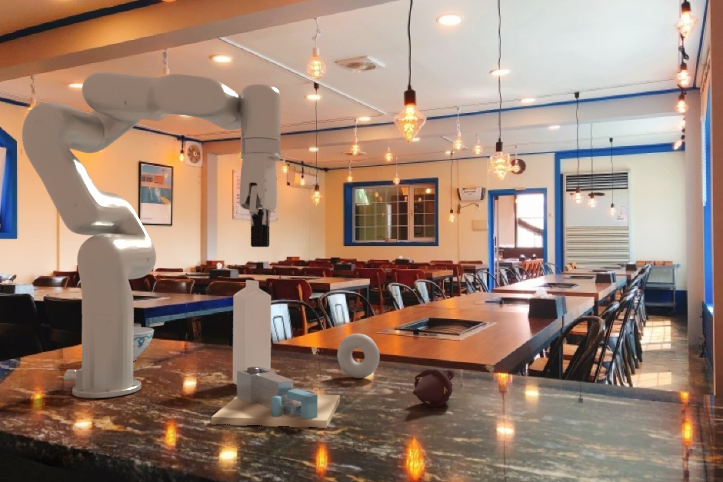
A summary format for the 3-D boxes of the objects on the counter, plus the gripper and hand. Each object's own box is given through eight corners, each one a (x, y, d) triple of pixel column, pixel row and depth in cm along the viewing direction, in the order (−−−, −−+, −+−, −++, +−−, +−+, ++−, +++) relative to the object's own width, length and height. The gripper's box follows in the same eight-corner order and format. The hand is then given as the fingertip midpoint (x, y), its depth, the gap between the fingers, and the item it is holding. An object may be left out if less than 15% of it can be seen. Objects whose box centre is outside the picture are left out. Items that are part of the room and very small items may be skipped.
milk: (244, 389, 116) (244, 281, 116) (232, 383, 121) (232, 280, 121) (271, 384, 120) (271, 280, 120) (258, 379, 124) (258, 279, 125)
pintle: (245, 399, 103) (245, 368, 103) (249, 396, 105) (249, 366, 105) (257, 400, 102) (257, 369, 103) (260, 397, 105) (260, 366, 105)
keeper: (269, 422, 93) (269, 393, 93) (294, 416, 97) (294, 388, 97) (292, 431, 89) (292, 400, 89) (317, 424, 92) (317, 394, 92)
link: (236, 398, 104) (237, 370, 104) (261, 393, 107) (262, 367, 107) (285, 419, 91) (285, 387, 91) (311, 413, 94) (311, 383, 94)
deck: (211, 424, 92) (211, 416, 92) (241, 398, 108) (241, 392, 108) (326, 428, 90) (326, 420, 90) (339, 401, 106) (339, 395, 106)
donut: (334, 377, 126) (334, 333, 126) (340, 374, 129) (341, 331, 130) (376, 381, 122) (376, 335, 123) (381, 378, 126) (382, 333, 126)
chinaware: (139, 367, 137) (139, 335, 137) (78, 367, 137) (78, 335, 137) (162, 355, 152) (162, 327, 152) (106, 355, 152) (107, 326, 152)
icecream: (438, 381, 95) (471, 373, 108) (401, 365, 99) (437, 359, 112) (427, 420, 96) (462, 408, 108) (391, 403, 100) (428, 393, 112)
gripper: (252, 158, 116) (252, 247, 116) (229, 144, 101) (228, 246, 101) (288, 157, 116) (288, 247, 115) (270, 143, 101) (269, 246, 100)
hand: (260, 246), depth 108 cm, fingers closed
